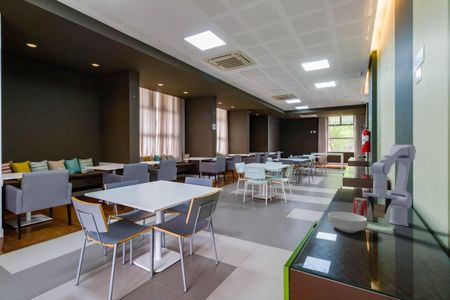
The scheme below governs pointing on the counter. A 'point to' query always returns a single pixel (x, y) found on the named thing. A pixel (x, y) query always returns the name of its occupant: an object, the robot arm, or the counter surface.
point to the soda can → (360, 207)
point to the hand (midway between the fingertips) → (379, 212)
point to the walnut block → (379, 210)
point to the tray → (379, 228)
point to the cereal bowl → (347, 221)
